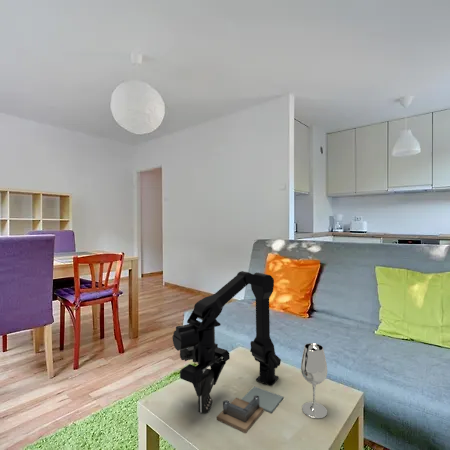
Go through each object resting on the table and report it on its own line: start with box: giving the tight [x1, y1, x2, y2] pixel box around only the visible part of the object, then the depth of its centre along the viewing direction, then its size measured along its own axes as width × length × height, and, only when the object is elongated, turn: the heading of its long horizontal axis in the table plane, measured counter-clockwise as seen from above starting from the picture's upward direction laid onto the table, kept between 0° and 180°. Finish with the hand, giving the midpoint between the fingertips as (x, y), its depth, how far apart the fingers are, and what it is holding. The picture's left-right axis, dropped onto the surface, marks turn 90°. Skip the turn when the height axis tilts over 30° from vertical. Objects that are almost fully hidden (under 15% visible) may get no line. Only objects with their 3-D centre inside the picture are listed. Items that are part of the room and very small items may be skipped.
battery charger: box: [197, 367, 215, 414], centre depth 93 cm, size 7×4×11 cm, turn 167°
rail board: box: [216, 397, 265, 434], centre depth 89 cm, size 11×10×1 cm
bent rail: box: [222, 396, 260, 423], centre depth 90 cm, size 9×8×3 cm
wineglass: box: [300, 342, 328, 419], centre depth 91 cm, size 8×8×20 cm
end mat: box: [240, 386, 284, 414], centre depth 97 cm, size 9×11×1 cm
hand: (206, 390), depth 93 cm, fingers closed on battery charger, 7 cm apart
